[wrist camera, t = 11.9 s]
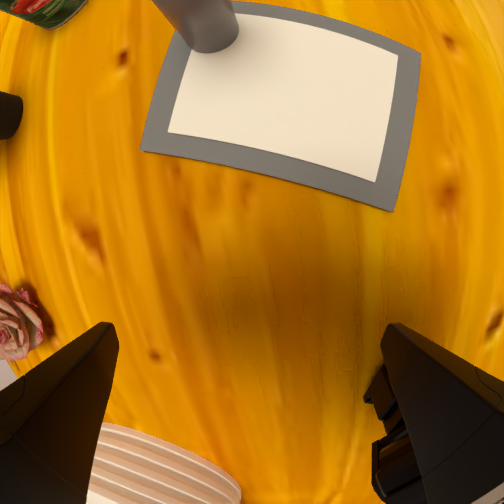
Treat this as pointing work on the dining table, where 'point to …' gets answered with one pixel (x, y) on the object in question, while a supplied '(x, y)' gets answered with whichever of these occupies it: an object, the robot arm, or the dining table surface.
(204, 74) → the writing mat
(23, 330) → the flower
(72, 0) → the canned tomato
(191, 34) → the marker
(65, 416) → the robot arm
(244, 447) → the dining table surface
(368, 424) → the dining table surface
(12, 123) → the drinking cup
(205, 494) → the plate stack
